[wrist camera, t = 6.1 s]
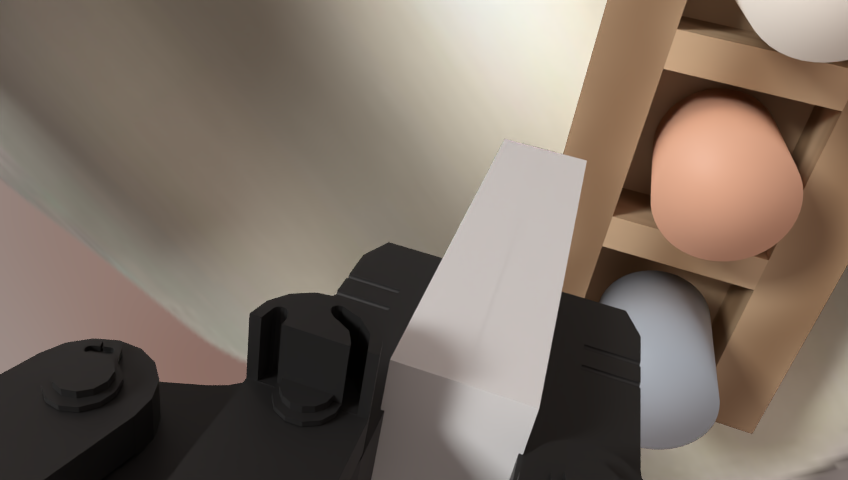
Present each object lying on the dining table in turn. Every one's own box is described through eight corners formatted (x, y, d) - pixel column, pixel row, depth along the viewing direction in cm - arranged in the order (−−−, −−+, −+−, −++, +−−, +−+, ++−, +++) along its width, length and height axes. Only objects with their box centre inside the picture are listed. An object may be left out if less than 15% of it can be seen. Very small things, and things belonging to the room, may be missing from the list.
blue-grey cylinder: (584, 342, 33) (570, 424, 28) (615, 256, 31) (605, 329, 26) (687, 375, 33) (692, 465, 27) (727, 289, 30) (741, 371, 25)
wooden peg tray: (519, 311, 38) (505, 353, 34) (667, -201, 26) (668, -214, 22) (743, 381, 35) (752, 433, 32) (1019, -142, 23) (1079, -147, 20)
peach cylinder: (637, 182, 31) (632, 239, 26) (675, 75, 29) (678, 116, 24) (750, 212, 30) (767, 277, 25) (798, 105, 28) (829, 154, 23)
